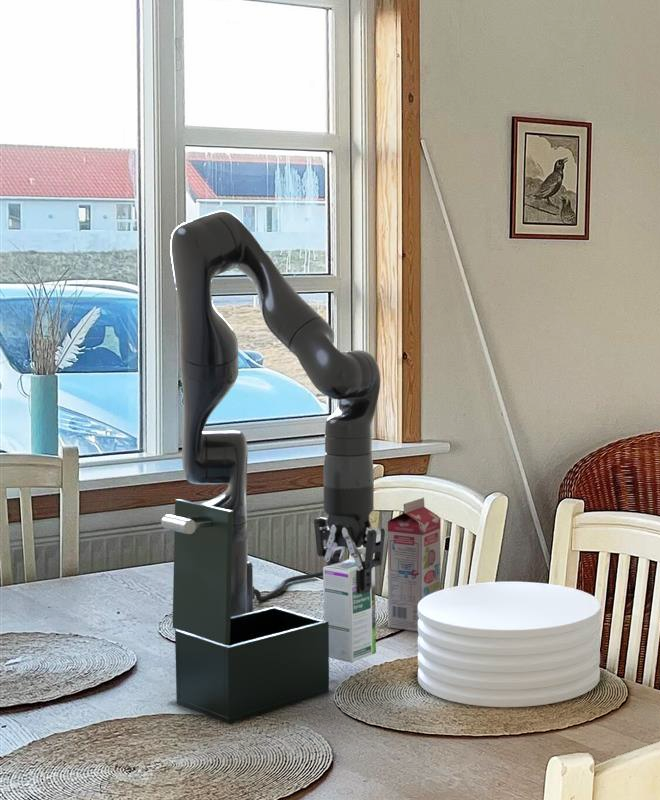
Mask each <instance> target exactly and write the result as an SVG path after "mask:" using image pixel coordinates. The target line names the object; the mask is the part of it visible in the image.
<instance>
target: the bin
mask: <svg viewBox="0 0 660 800" xmlns="http://www.w3.org/2000/svg"><path fill="white" fill-rule="evenodd" d="M174 638H175V639H174V642H175V643H174V646H175V649H174V650H175V691H176V692H175V695H176V696H175V697H176V700H175V701H176V702H175V703H176V704H177V705H180V706H182V707H185V708H187V709H190V710H193V711H196V712H198V713H200V714H202V715H206V716H208V717H211V718H213V719H216V720H219V721H221V722H224V723H225V724H228V725H229V724H232V723H236V722H239V721H243V720H245V719H248V718H252V717H255V716H259V715H261V714H265V713H268V712H272V711H275V710H278V709H281V708H285V707H287V706H291V705H294V704H297V703H301V702H304V701H306V700H309V699H313V698H317V697H319V696H323V695H325V694H329V693H330V657H329V622H328V621H324V619H321V618H317V617H313V616H309V615H307V614H302V613H299V612H296V611H293V610H289V609H285V608H282V607H279V606H272V607H267V608H263V609H259V610H255V611H254V610H253V612H250V613H246V614H242V615H238V616H234V617H231V623H230V644H228V645H224V644H221V643H218V642H215V641H212V640H209V639H206V638H203V637H200V636H196V635H193V634H190V633H187V632H184V631H181V630H178V629H176V630H175V629H174Z"/></svg>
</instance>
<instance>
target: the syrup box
mask: <svg viewBox="0 0 660 800" xmlns="http://www.w3.org/2000/svg"><path fill="white" fill-rule="evenodd" d="M356 570H358V569H357V566H356V563H355V560H354V559H349V558H347V559H346V560H343V561H342V562H340V563H336V564H333V565H330V566H327V565H325V566H323V567H322V571H323V576H322V577H323V580H322V581H323V620H324V621H328V622H329V659H334V660H338V661H342V662H346V663H354V662H356V661H358V660H361V659H363V658H366V657H369V656H371V655H375V654H376V653H377V628H376V625H377V623H376V621H377V620H376V567H373V568H372V579H371V580H372V582H371V583H372V586H371V589H370V591H369V592H368V593H364V594H359V593H357V584H356Z"/></svg>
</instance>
